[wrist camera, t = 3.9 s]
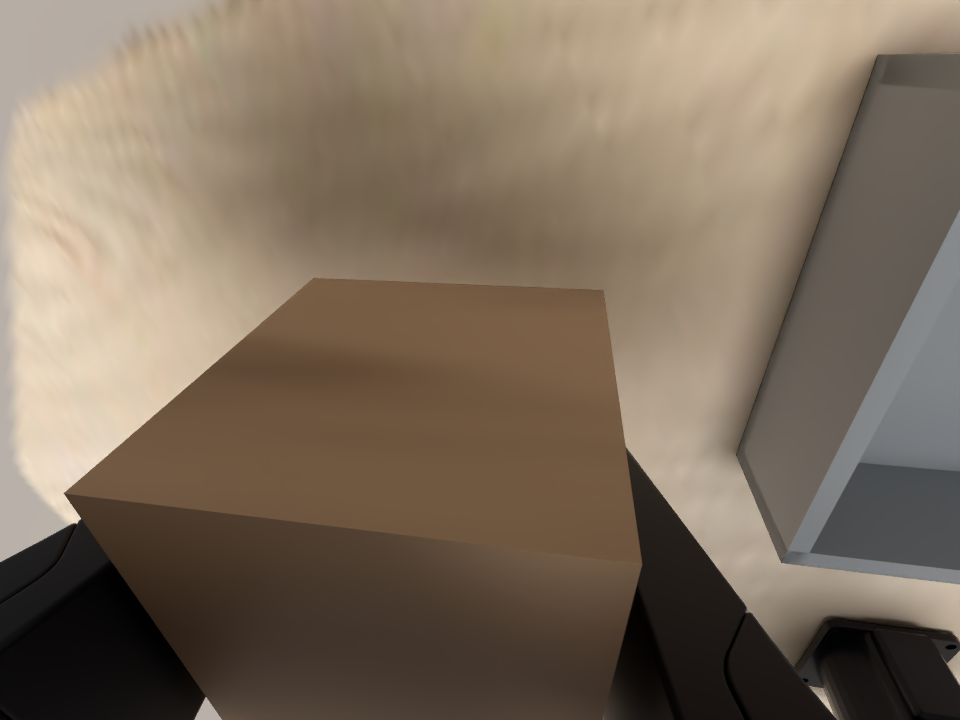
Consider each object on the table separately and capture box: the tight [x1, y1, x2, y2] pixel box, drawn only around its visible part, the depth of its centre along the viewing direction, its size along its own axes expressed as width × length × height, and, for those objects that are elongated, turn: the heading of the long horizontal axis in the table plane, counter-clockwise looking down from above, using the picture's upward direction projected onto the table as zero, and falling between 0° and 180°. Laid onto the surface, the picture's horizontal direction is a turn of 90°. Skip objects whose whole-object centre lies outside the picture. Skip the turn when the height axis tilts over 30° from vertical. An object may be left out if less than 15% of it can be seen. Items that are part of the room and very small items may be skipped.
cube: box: [64, 278, 642, 720], centre depth 7 cm, size 5×5×5 cm
